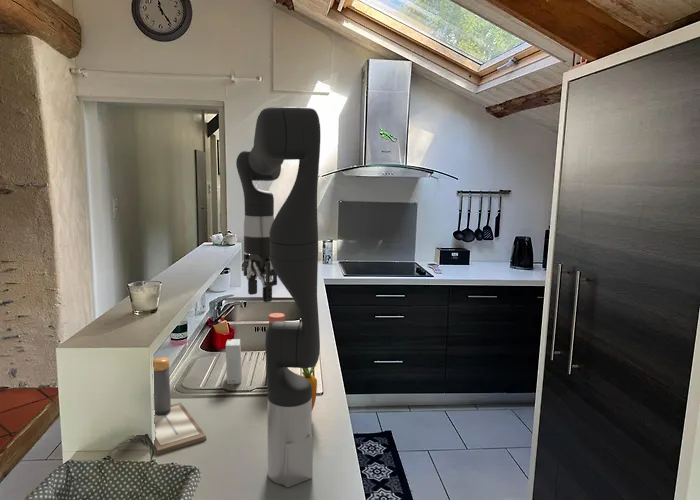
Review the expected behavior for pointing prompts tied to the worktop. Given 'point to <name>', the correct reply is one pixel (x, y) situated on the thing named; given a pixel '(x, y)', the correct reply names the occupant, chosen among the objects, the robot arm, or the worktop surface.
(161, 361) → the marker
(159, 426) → the writing board
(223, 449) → the worktop surface
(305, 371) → the carrot
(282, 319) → the bottle
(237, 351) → the skincare box
